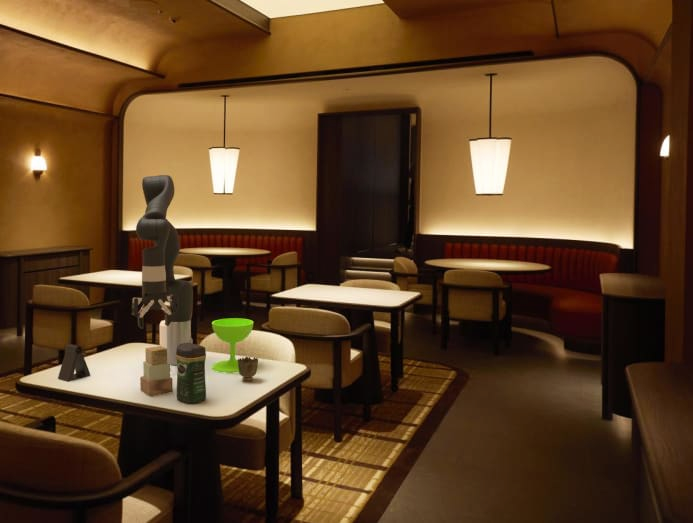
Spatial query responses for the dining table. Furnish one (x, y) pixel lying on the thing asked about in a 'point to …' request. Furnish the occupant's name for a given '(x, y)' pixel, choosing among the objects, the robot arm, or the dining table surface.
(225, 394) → the dining table surface
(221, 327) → the wineglass
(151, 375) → the sage top block
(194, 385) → the coffee jar
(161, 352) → the tan wooden cube
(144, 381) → the walnut base block
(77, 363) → the dark grey a-frame stand
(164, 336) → the beverage can
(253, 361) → the cup
